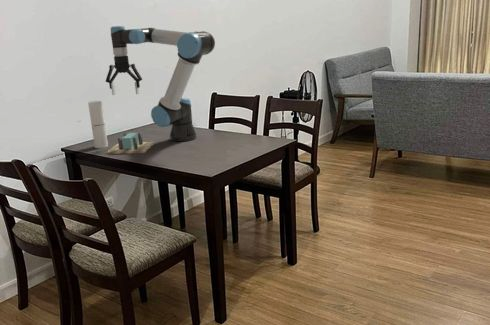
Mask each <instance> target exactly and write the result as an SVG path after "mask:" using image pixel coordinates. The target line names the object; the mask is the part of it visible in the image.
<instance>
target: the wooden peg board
mask: <svg viewBox="0 0 490 325" xmlns="http://www.w3.org/2000/svg"><path fill="white" fill-rule="evenodd" d="M127 134H128V133H123V137H124V136H126V135H127ZM137 134H138V142H139V143H138V144H137V138H136V137H133V146H134V148H132V149H123V143H122V138H123V137H118V138H117V141H118V142H117V144H115V145H114V146H113V147H111V148H110V149H109V150H108V151H107V152H106V153H107V155H112V154H113V155H115V154H116V155H117V154H120V155H121V154H123V155H124V154H145V153H146V152H147V151H148V150H149V149H151V148H152V147H153V146H154V145H155V141H143V134H142V132H139V133H138V132H137ZM151 146H152V147H151Z"/></svg>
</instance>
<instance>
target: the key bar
mask: <svg viewBox="0 0 490 325" xmlns="http://www.w3.org/2000/svg"><path fill="white" fill-rule="evenodd" d="M126 134H127V135H126V136H124V135H123V137H121V138H122V143H123V149H132V148H134V146H133V137H136V138H137V144H138V143H139V139H138V132H128V133H126Z"/></svg>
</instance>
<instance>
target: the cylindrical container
mask: <svg viewBox="0 0 490 325" xmlns="http://www.w3.org/2000/svg"><path fill="white" fill-rule="evenodd" d="M87 103H88V110H89V111H88V112H89V117H90V123H91V131H92V137H93V138H92V139H93V145H94V149H103V148H107V147H109V143H108V142H109V141H108V135H107V130H106V129H107V128H106V122H105V115H104V107H103V101H102V100H92V101H88V102H87Z"/></svg>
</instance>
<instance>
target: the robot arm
mask: <svg viewBox="0 0 490 325" xmlns="http://www.w3.org/2000/svg"><path fill="white" fill-rule="evenodd" d="M110 38H111V44H112V54H113V55H114V56H113V60H114V64H110V65H109V66H108V68H109V70H108V72H107V75H106V79H105V82H106V83H108V84H109V89H110V90H111V94H112V96H114V95H116V89H115V83H114V80H116V77H117V76H118V75H119V74H122V73H123V74H125V73H127V74H128V75H129V76H130V77H131V78H132V80H134V89H135V94H136V95H138V94H139V93H140V92H139V90H140V89H139V88H140V87H141V86H140V82H141V81H142V80H143V77H142V76H141V74H140V72H139V71H138V70H137V67H136V64H135V63H132V64H131V63H129V62H130V60H129V55H128V54H129V53H128V45H139V44H140V45H141V44H145V43H153V44H161V45H166V46H168V45H169V46H175V47H176V49H177V56H178V61H177V63H176V66H175V67H174V70H173V73H172V76H171V79H170V81H169V83H168V86H167V89H166V91H165V94H164V96H162V97H160V99H159V102H158V103H157V105H155V106H154V107H152V109H151V110H150V111H151V112H150V117H151V119H152V121H153V123H154V124H155V125H156V126H158V127H160V128H164V127H169V126H171V129H170V134H169V140H170V141H172V142H188V141H193V140H195V139H197V136H198V134H197V131H196V128H195V126H194V125H193V114H192V104H191V103H192V102H191V99H190V98H185V97H183V95H184V92H185V90H186V88H187V85H188V83H189V81H190V78H191V75H192V74H193V72H194V68H195V67H196V65H199V64H200V61H201V60H202V57H203V56H206V55H209V54H210V53H212V52H213V50H214V49H215V45H216V41H215V37H214V36H213V35H212V33H211V32H207V31H204V30H203V31H202V30H201V31H192V32H186V31H177V30H167V29H157V28H154V27H147V28H133V29H126V27H125V26H123V25H116V26H111V27H110ZM131 69H132V70H131ZM113 70H115V71H114V72H113ZM132 71H133V72H134V73H133V72H132ZM112 73H113V74H112Z"/></svg>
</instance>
